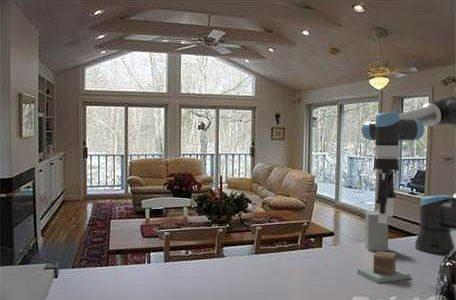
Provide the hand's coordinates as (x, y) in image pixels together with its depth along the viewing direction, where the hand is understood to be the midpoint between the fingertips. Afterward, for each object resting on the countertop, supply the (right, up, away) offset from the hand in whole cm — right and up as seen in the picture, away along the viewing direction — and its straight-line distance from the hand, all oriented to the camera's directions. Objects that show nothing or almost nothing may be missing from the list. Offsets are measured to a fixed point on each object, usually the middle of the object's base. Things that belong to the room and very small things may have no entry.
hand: (386, 219), depth 145 cm
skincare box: (+8, -19, +34) cm, 39 cm away
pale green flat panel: (-1, -19, -1) cm, 19 cm away
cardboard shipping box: (-1, -18, -1) cm, 18 cm away
